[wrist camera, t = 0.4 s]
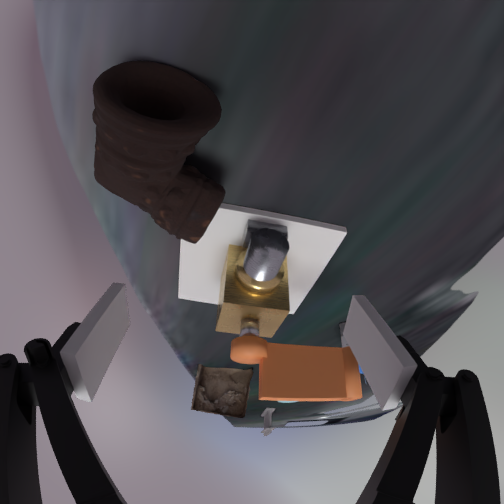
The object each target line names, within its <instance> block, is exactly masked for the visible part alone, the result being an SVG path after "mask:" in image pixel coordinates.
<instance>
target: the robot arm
mask: <svg viewBox="0 0 504 504" xmlns="http://www.w3.org/2000/svg"><path fill="white" fill-rule="evenodd" d="M129 326H130V318H129V311H128V303H127V295H126V286H125V284H121V283H113V284H112V285H111V286H110V287H109V289H108V290H107V291H106V292H105V294H104V295H103V296H102V297H101V298H100V300H99V301H98V302H97V303H96V305H95V306H94V307H93V309H92V310H91V311H90V312H89V314H88V315H87V316H86V318H85V319H84V320H83V322H82V323H78V322H75V323H74V324H72V325H70V326H69V327H67V329H66V330H65V331H64V333H63V334H62V335H61V336H60V338H59V339H58V340H57V341H56V343H55V344H54V345H53V347H51V344H50V342H49V341H48V340H46V339H43V338H39V339H34V340H31V341H29V342H28V343H27V344H26V345H25V347H24V352H25V355H26V357H27V360H28V362H29V363H18V361H17V358H16V357H15V355H13V354H3V355H0V504H42V499H41V492H40V484H39V475H38V465H37V450H36V406H39V407H40V411H41V414H42V418H43V421H44V424H45V428H46V431H47V434H48V437H49V440H50V443H51V445H52V448H53V451H54V453H55V456H56V459H57V461H58V464H59V466H60V469H61V471H62V473H63V476H64V478H65V480H66V482H67V485H68V487H69V489H70V491H71V493H72V495H73V497H74V499H75V501H76V504H127V503H126V501H125V500H124V498H123V497H122V495H121V494H120V492H119V491H118V489H117V488H116V486H115V484H114V483H113V481H112V479H111V478H110V476H109V474H108V473H107V471H106V469H105V468H104V466H103V464H102V462H101V460H100V458H99V456H98V455H97V453H96V451H95V449H94V447H93V445H92V443H91V441H90V439H89V437H88V435H87V433H86V431H85V428H84V426H83V424H82V422H81V420H80V417H79V415H78V413H77V410H76V408H75V406H74V403H73V401H72V399H71V394H72V392H73V390H74V392H75V394H76V397H77V399H81V400H85V401H89V402H92V400H93V398H94V396H95V394H96V392H97V390H98V387H99V385H100V383H101V381H102V379H103V377H104V375H105V373H106V371H107V369H108V367H109V365H110V363H111V361H112V359H113V357H114V355H115V353H116V351H117V349H118V347H119V345H120V343H121V341H122V339H123V337H124V336H125V333H126V332H127V330H128V328H129ZM343 335H344V337H345V339H346V341H347V343H348V345H349V346H350V348H351V350H352V352H353V354H354V356H355V358H356V360H357V362H358V364H359V366H360V367H361V369H362V371H363V373H364V375H365V377H366V379H367V381H368V383H369V385H370V387H371V389H372V391H373V393H374V395H375V397H376V399H377V401H378V403H379V405H380V407H381V409H382V410H388V409H393V408H396V406H397V405H398V403H399V401H400V399H401V401H402V403H403V407H402V409H401V410H400V412H399V414H398V415H397V417H396V418H395V420H397V421H396V423H395V426H394V428H393V430H392V433H391V435H390V437H389V440H388V442H387V445H386V447H385V449H384V451H383V453H382V455H381V457H380V459H379V461H378V464H377V466H376V468H375V469H374V471H373V473H372V475H371V477H370V479H369V481H368V483H367V485H366V487H365V489H364V490H363V492H362V494H361V495H360V497H359V499H358V501H357V503H356V504H415V503H413V498H414V496H415V493H416V490H417V488H418V485H419V482H420V479H421V477H422V474H423V471H424V468H425V464H426V461H427V458H428V454H429V451H430V448H431V444H432V440H433V436H434V432H435V428H436V449H437V471H436V472H437V474H436V494H435V495H436V496H435V504H500V489H499V477H498V468H497V461H496V454H495V448H494V442H493V437H492V431H491V427H490V422H489V418H488V413H487V410H486V405H485V401H484V397H483V394H482V390H481V387H480V383H479V380H478V378H477V376H476V375H475V374H474V373H473V372H471V371H470V370H460V371H459V372H458V373H457V375H456V377H445V376H444V375H443V373H442V372H441V371H440V370H438V369H436V368H433V367H427V366H426V364H425V363H424V362H423V361H422V359H421V358H420V356H419V355H418V354H417V353H416V351H415V350H414V349H413V348H412V346H411V345H410V344H409V342H408V341H407V340H406V339H404V338H403V337H401V336H396V335H395V334H394V333H393V331H392V330H391V329H390V328H389V326H388V325H387V324H386V322H385V321H384V320H383V319H382V317H381V316H380V315H379V313H378V312H377V311H376V310H375V308H374V307H373V306H372V305H371V303H370V302H369V301H368V300H367V298H366V297H365V296H364V295H353V297H352V301H351V305H350V309H349V313H348V317H347V320H346V324H345V328H344V332H343Z"/></svg>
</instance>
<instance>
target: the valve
mask: <svg viewBox="0 0 504 504" xmlns="http://www.w3.org/2000/svg"><path fill="white" fill-rule="evenodd" d="M287 239H288V231H287V226H282V225H277V224H271V223H266V222H260V221H255V220H249V219H248V221H247V224H246V227H245V231H244V234H243V244H242V246H237V245H231V244H229V246H228V250H227V255H226V259H225V263H224V267H223V271H222V275H221V281H220V291H219V300H218V310H217V320H216V331H220V332H228V333H232V334H235V335H240V337H241V336H255V337H259V336H261V337H271V338H272V336H273V335H274V334H275V332H276V331H277V329H278V328H279V326H280V325H281V323H282V322H283V320H284V319H285V318H286V316H287V315H288V313H289V312H290V302H289V284H288V268H287V253H288V251H289V242H288V240H287Z"/></svg>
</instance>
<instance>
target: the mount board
mask: <svg viewBox="0 0 504 504" xmlns="http://www.w3.org/2000/svg"><path fill="white" fill-rule="evenodd" d="M248 219H249V220H255V221H260V222H266V223H271V224H277V225H282V226H287V231H288V239H287V240H288V242H289V251H288V253H287V268H288V284H289V302H290V312H289V313H288V314H294V312H295V311H296V309H297V308H298V307H299V305H300V304H301V302H302V301H303V299H304V298H305V296H306V295H307V294H308V292H309V291H310V289H311V288H312V286H313V285H314V283H315V282H316V280H317V279H318V277H319V276H320V274H321V273H322V271H323V270H324V268H325V267H326V265H327V264H328V262H329V260H330V259H331V257H332V256H333V254H334V253H335V251H336V250H337V248H338V246H339V245H340V243H341V242H342V240H343V238H344V237H345V235H346V234H347V230H346V227H342V226H338V225H333V224H329V223H324V222H319V221H314V220H310V219H305V218H300V217H295V216H290V215H285V214H280V213H275V212H269V211H264V210H259V209H253V208H248V207H242V206H237V205H231V204H226V203H221V205H220V207H219V209H218V211H217V213H216V215H215V216H214V218H213V220H212V221H211V223H210V224H209V226H208V228H207V230H206V232H205V233H204V235H203V236H202V238H201V239H200V240H199V241H198V242H197V243H196V244H193V243H190V242H187V241H185V240H183V239H181V246H180V267H179V297H178V298H181V299H187V300H193V301H200V302H206V303H213V304H218V300H219V291H220V281H221V275H222V271H223V267H224V263H225V259H226V255H227V250H228V246H229V244H231V245H237V246H242V244H243V234H244V231H245V227H246V224H247V221H248Z"/></svg>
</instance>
